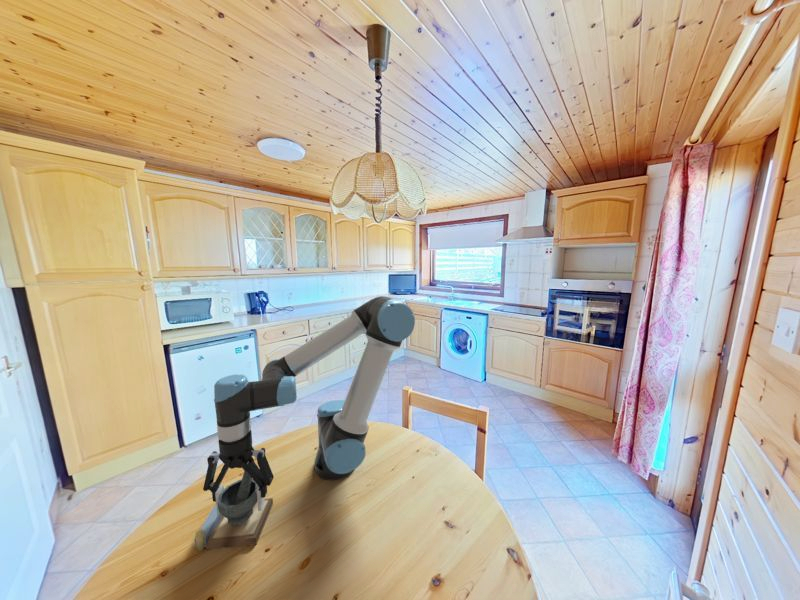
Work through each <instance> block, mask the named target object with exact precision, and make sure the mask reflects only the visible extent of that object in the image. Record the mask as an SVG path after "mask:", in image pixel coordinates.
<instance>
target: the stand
mask: <svg viewBox="0 0 800 600" xmlns="http://www.w3.org/2000/svg"><path fill="white" fill-rule="evenodd" d="M273 505H274V500H273V498H271V497H270V498H265V503H264V505H263V507H262V510H261V511H258V503H257V502H256V504H255V506H254V507H253V514H252V515H251V516H250V518H249V519H248V520H247V521H245V522H243V523H242V524H239V525H233V526H232V525H231V524H229V523H228V519H227V518H226V517H224V516H222V517H221V519H220V521H219V522H218V524H217V526H216V527H215V529H214V531H213V532H212V534H211V536H210V538H209V539H208V541H207V543H206V544H207V547H206V550H207V551H208V550H216V549H225V548H226V549H227V548H235V547H236V548H237V547H246V546H247V547H248V546H256V545H257V544H258V541H259V540H260V536H261V535H262V532H263V529H264V527H265V525H266V522H267V520H268V517H269V515H270V513H271V510H272V507H273Z"/></svg>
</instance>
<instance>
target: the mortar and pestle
mask: <svg viewBox="0 0 800 600" xmlns="http://www.w3.org/2000/svg"><path fill="white" fill-rule="evenodd" d="M247 464H248V463H247ZM257 488H258V485H257V484H256V482H255V481H254V480H253V479H252V477H251V476H250V475H249V473H248V472H247V471H244V470H243V475H242V478H241V479H238V480H236V481H234V482H232V483H231V484H229V485H227V486H226V487H224V490H223V491H222V492H221V493H220V494H219V498H218V510H219V513H220V514H222V515H223V516H224V517H226V518H227V519H228V523H229V524H231V525H232V526H233V525H239V524H242V523H243V522H245V521H247V520H248V519H249V518H250V516H251V515H252V514H253V507H254V506H255V504H256V502H257Z"/></svg>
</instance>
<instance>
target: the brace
mask: <svg viewBox="0 0 800 600" xmlns="http://www.w3.org/2000/svg"><path fill="white" fill-rule="evenodd" d="M222 516H223V515H222V514H220V515H217V507H216V503H215V504H214V506H213V507H212V509H211V511H210V512H209V513H208V516H207V518H206V519H205V521H204V522H203V524H202V526H201V527H200V529H199V530H197V531H196V532H195V538H194V543H195V549H196V550H197V551H198V552H200V551H203V550H204V548H207V544H206V543H207V541H208V539H209V538H210V536H211V534H212V532H213V531H214V529H215V527H216V526H217V524H218V522H219V521H220V519H221V517H222Z"/></svg>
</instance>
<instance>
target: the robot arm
mask: <svg viewBox="0 0 800 600" xmlns="http://www.w3.org/2000/svg"><path fill="white" fill-rule="evenodd" d="M415 324H416V319H415V314H414V312H413V310H412V308H411V307H410V306H409V305H408V304H406V303H405V302H403V301H401V300H399V299H394V298H391V297H388V296H376V297H374V298H372V299H370V300H368V301H366V302H365V303H363V304H362V305H360V306H357V308H356V309H354V310H352V311H351V314H350V316H348V317H346V318H344V319H343V320H341V321H340V322H337V323H336V324H334V325H333V326H332V327H330V328H328V329H326V330H325V331H323V332H322V333H320V334H318V335H317V336H315V337H313V338H312V339H310V340H308V341H307V342H306V343H304V344H302V345H300V346H299V347H297V348H296V349H294V350H292V351H291V352H289V353H287V354H286V355H284V356H283V357H280V358H279V359H278V358H276V359H275V358H274V359H272V360H270V361H268V362H267V363H266V365H265V366H264V368H263V370H262V376H261V380H257V381H255V380H254V381H249V380H248V377H247V376H246V375H245V374H231V375H227V376H224V377H221V378H219V379H218V380H217V381H216V382H215V383H214V386H213V388H214V389H213V390H214V398H213V402H214V406H215V407H214V408H215V415H216V416H215V417H216V428H217V429H216V430H217V438H218V448H219V449H218V450H219V451H218V452H217V451H216V450H214V451H212V452H211V453H210V455H209V456H208V457H207V470H206V474H205V479H204V484H203V488H202V490H203V491H204V492H207V491H210V493H211V496H212V501H213V502H214V503H215V504H216V507H217V515H220V513H219V510H218V498H219V494H220V493H221V492H222V491H223V490H224V489H225V485H224V484H222V481H223V480H224V478H225V476H226V474H227V472H228V470H229V469H231V470H233V469H242V470H243V472H244V471H247V472H248V473H249V475H250V476H251V477H252V479H253V480H254V481H255V482H256V484H257V485H258V488H257V503H258V511H261V510H262V507H263V505H264V503H265V499H266V498H265V497H266V495H267V494H268V487H270V486H271V484H272V482H273V479H274V478H275V476H274V474H273V471H272V469H271V466H270V464H269V461H268V458H267V456H266V448H265V447H261V448H260V449H254V447H253V436H252V433H253V432H252V430H251V429H252V425H251V424H252V423H251V412H253V411H258V410H265V409H271V408H275V407H277V408H278V407H284V406H286V405H289V404H291V405H292V404H294V403H295V402H296V401H297V398H298V397H297V381H296V377H297V376H298V375H300V374H302V373H304V372H305V371H307V369H309V368H311V367H313V366H314V365H316V364H317V363H319V362H320V361H322V360H323V359H325V358H327V357H328V356H330V355H331V354H333V353H334V352H336V351H338V350H339V349H341V348H343V346H345V345H347V344H348V343H350V342H351V341H353V340H355V339H356V338H357V337H359V336H361V335H365V337H366V338H367V342H366V345H365V348H364V351H363V352H362V355H361V357H360V358H361V359H360V361H359V363H358V365H357V369H356V371H355V374H354V376H353V379H352V382H351V383H350V387H349V389H348V392H347V395H346V397H345V400H343V399H335V400H331V401H326V402H324V403H322V404H321V405H320V406H319V407H318V408H317V414H316V417H317V431H318V432H317V434H318V448H317V452H316V455H315V457H314V464H313V465H314V471H315V474H316V476H318V477H320V478H322V479H323V480H331V481H332V480H339V479H342V478H344V477H346V476H348V475H350V474H351V473H352V472H353V471H354V470H356V469H358V468H359V467H360V466H361V464H362V463H363V462H364V460H365V458H366V446H365V440H366V437H367V435H368V433H369V432H368V431H369V428H370V427H369V424H368V422H367V421H368V419H369V415H370V413H371V412H372V411H371V410H372V408H373V405H374V402H375V400H376V397H377V394H378V392H379V390H380V387H381V384H382V382H383V379H384V376H385V374H386V370H387V368H388V365H389V364H390V360H391V358H392V355H393V352H394V351H395V350H397V349H399V348H400V347H401V345H402V344H403V343H402V342H403V341H404V340H405V339H407V338H409V337H410V336H411V334H412V333H413V331H414V328H415ZM219 460H220V461H221V462H222V463H223V466H222V468H221V469H220V472H219V474H218V476H217V478H216V479H215V476H216V475H215V474H216V470H217V466H218V463H219ZM255 461H256V462H255ZM247 463H248V464H247ZM214 479H215V481H214Z"/></svg>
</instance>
